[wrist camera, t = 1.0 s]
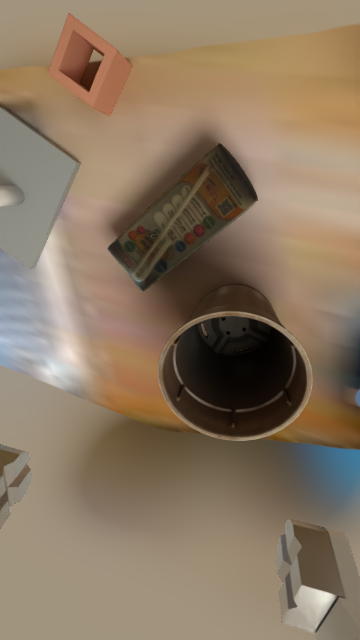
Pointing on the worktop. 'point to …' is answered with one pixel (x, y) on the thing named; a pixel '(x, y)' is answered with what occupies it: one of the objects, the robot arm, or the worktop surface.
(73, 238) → the worktop surface
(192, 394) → the plant pot
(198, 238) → the beverage carton
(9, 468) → the robot arm
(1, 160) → the post board
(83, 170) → the worktop surface
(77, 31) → the collar
